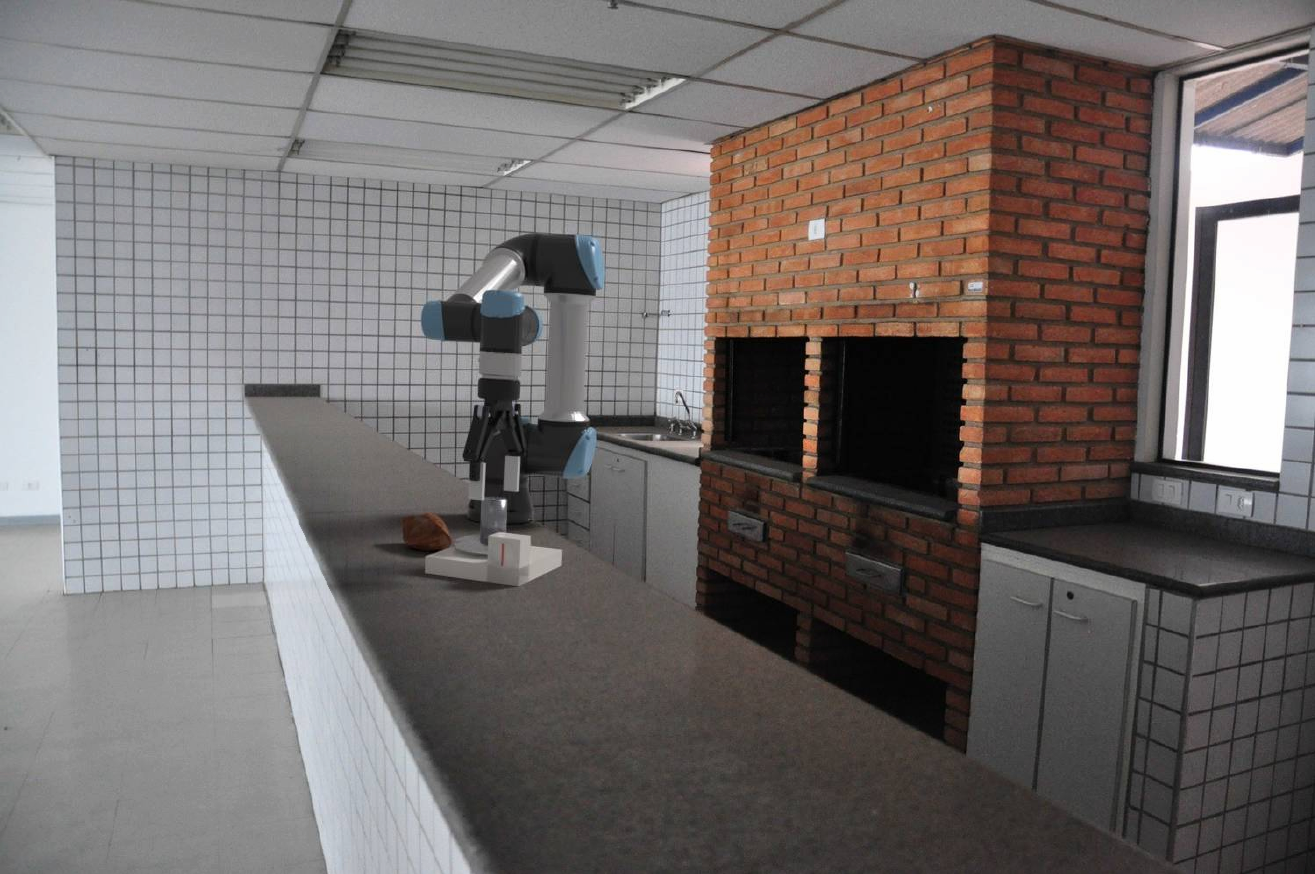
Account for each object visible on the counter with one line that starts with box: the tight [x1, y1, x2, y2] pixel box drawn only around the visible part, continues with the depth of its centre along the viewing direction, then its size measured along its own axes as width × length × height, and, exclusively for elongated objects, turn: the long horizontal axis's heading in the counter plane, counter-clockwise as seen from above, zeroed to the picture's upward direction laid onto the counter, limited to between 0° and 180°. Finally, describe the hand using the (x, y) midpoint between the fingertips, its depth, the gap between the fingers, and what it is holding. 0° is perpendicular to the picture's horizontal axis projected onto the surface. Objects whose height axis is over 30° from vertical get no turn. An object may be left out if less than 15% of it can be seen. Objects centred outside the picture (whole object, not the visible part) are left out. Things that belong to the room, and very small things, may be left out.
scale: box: [424, 532, 563, 587], centre depth 180 cm, size 18×18×8 cm
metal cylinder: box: [479, 497, 507, 545], centre depth 182 cm, size 5×5×8 cm
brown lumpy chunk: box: [399, 512, 453, 552], centre depth 194 cm, size 13×8×10 cm
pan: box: [452, 534, 532, 555], centre depth 182 cm, size 14×14×2 cm
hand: (494, 495), depth 181 cm, fingers open, 13 cm apart
